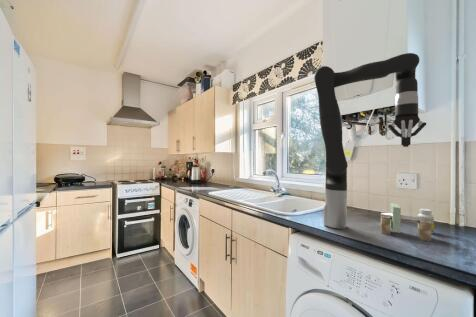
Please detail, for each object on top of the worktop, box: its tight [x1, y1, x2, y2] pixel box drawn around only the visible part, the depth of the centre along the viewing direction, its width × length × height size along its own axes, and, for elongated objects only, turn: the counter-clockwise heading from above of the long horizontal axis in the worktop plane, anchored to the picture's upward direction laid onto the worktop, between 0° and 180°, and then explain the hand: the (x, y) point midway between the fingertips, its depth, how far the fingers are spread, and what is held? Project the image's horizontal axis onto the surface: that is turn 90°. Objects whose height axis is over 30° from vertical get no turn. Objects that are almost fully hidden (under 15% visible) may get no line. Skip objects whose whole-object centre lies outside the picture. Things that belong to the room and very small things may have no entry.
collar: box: [390, 202, 402, 233], centre depth 91 cm, size 2×10×10 cm, turn 149°
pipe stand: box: [380, 215, 432, 242], centre depth 89 cm, size 16×6×7 cm, turn 59°
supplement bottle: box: [417, 208, 435, 235], centre depth 94 cm, size 5×5×10 cm
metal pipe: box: [380, 212, 430, 224], centre depth 89 cm, size 16×3×3 cm, turn 59°
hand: (405, 146), depth 87 cm, fingers closed
